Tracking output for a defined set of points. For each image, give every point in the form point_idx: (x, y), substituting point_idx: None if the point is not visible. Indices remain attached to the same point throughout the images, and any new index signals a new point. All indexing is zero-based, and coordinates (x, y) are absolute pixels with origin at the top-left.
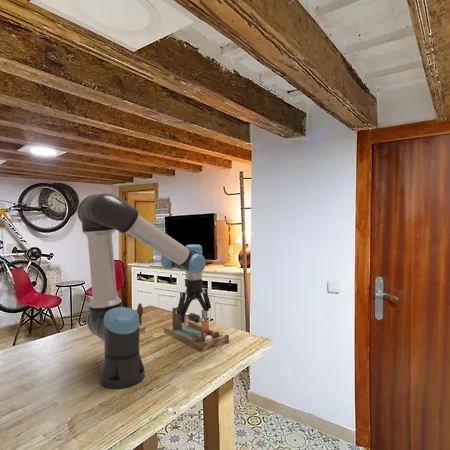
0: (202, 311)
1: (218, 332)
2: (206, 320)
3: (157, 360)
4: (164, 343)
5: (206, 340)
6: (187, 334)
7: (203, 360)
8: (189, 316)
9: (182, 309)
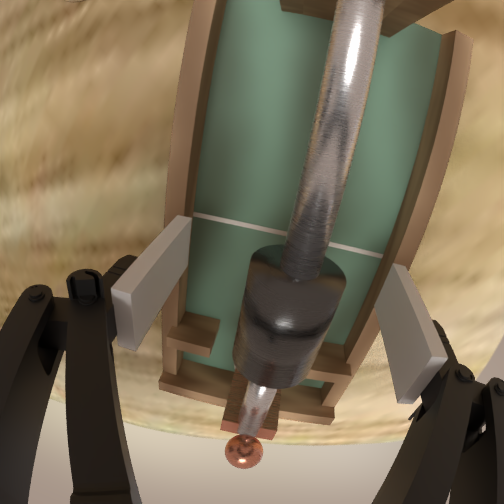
0: (418, 360)
1: (344, 382)
2: (267, 431)
3: (31, 256)
4: (118, 122)
5: (234, 367)
6: (294, 155)
7: (152, 378)
8: (248, 283)
9: (47, 389)
